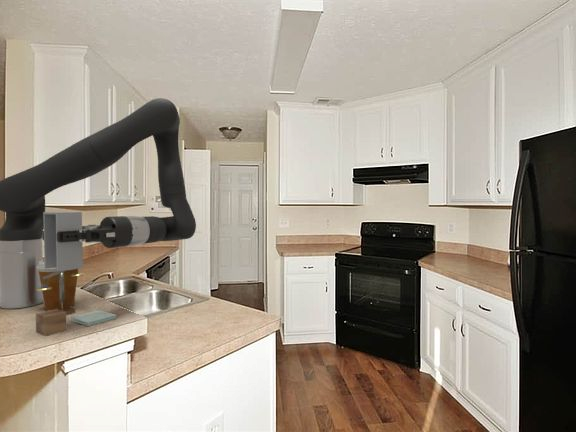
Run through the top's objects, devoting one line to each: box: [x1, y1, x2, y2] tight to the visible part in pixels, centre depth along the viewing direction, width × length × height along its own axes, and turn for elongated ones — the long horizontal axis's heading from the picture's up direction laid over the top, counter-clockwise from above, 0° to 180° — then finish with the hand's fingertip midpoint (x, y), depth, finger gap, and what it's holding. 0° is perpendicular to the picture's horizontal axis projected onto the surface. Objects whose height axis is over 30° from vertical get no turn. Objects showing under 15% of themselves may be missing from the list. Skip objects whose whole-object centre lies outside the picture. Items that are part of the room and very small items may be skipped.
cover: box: [43, 211, 84, 271], centre depth 76 cm, size 6×5×12 cm
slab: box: [70, 309, 117, 327], centre depth 82 cm, size 7×6×1 cm
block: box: [35, 309, 67, 337], centre depth 74 cm, size 4×4×4 cm
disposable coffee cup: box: [36, 260, 78, 311], centre depth 92 cm, size 10×10×12 cm
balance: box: [36, 268, 86, 316], centre depth 86 cm, size 4×11×12 cm, turn 148°
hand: (50, 236), depth 74 cm, fingers closed on cover, 5 cm apart
